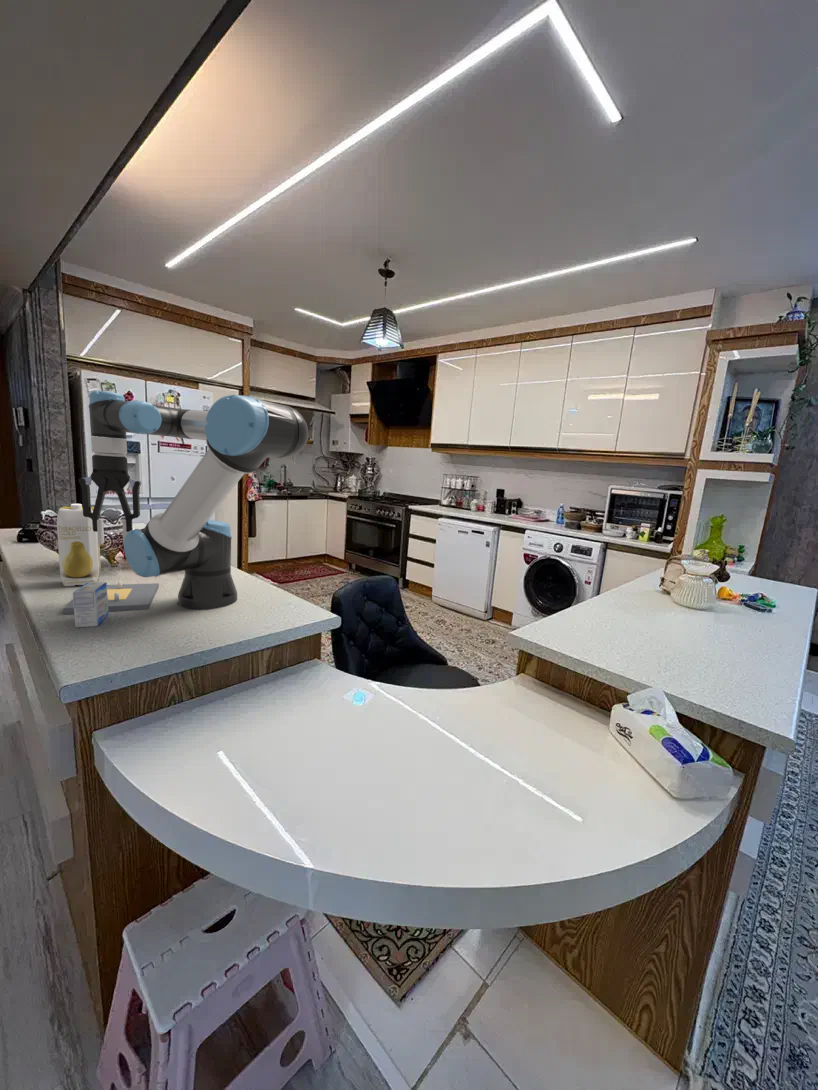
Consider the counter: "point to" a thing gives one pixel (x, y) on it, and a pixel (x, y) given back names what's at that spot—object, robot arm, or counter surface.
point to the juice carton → (77, 547)
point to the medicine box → (90, 604)
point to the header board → (125, 597)
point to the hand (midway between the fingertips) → (113, 543)
